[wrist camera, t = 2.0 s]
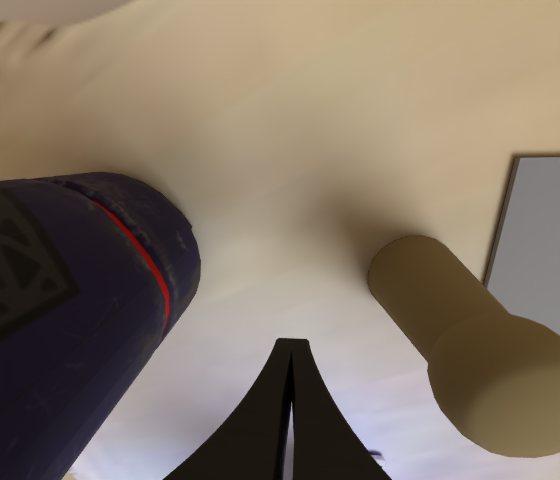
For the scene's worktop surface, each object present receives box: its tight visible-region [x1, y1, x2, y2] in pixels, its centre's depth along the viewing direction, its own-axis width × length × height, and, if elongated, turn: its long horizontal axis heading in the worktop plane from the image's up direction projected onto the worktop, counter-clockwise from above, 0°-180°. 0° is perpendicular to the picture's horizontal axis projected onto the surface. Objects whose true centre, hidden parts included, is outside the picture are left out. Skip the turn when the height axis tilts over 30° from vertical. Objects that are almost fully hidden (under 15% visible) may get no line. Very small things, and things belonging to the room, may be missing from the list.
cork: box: [368, 236, 560, 458], centre depth 14 cm, size 6×6×11 cm
